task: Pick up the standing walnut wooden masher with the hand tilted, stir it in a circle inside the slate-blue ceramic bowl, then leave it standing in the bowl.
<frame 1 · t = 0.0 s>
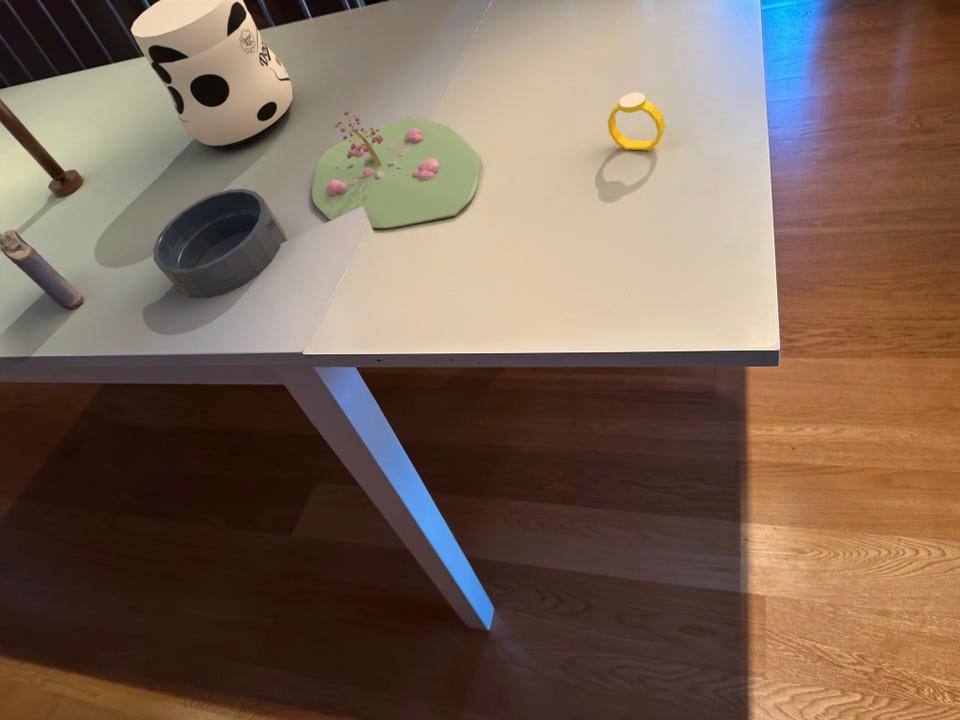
bowl: (236, 265, 81), on the table
masher: (69, 187, 107), on the table
plant: (401, 176, 84), on the table
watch: (638, 148, 75), on the table
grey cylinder: (66, 295, 88), on the table
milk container: (251, 124, 104), on the table
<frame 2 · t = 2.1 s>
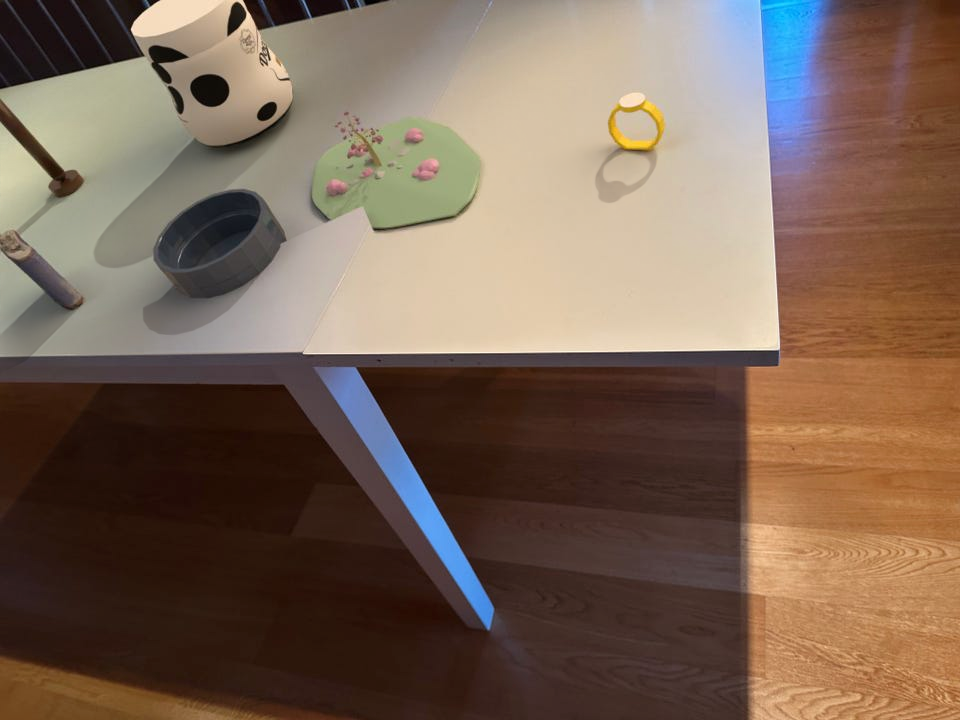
nothing on the table moved.
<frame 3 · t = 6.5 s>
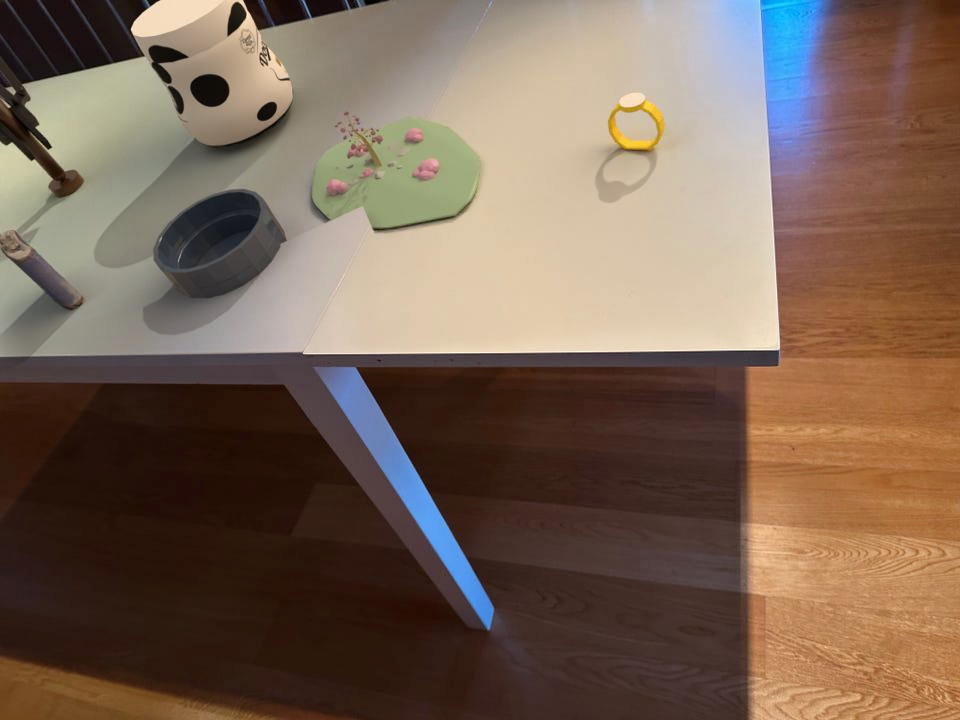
hand: (38, 150, 99), 8 cm above the table, tool tilted 45°, fingers closed on masher, 2 cm apart
masher: (69, 187, 107), on the table, touching gripper
everything else where it was.
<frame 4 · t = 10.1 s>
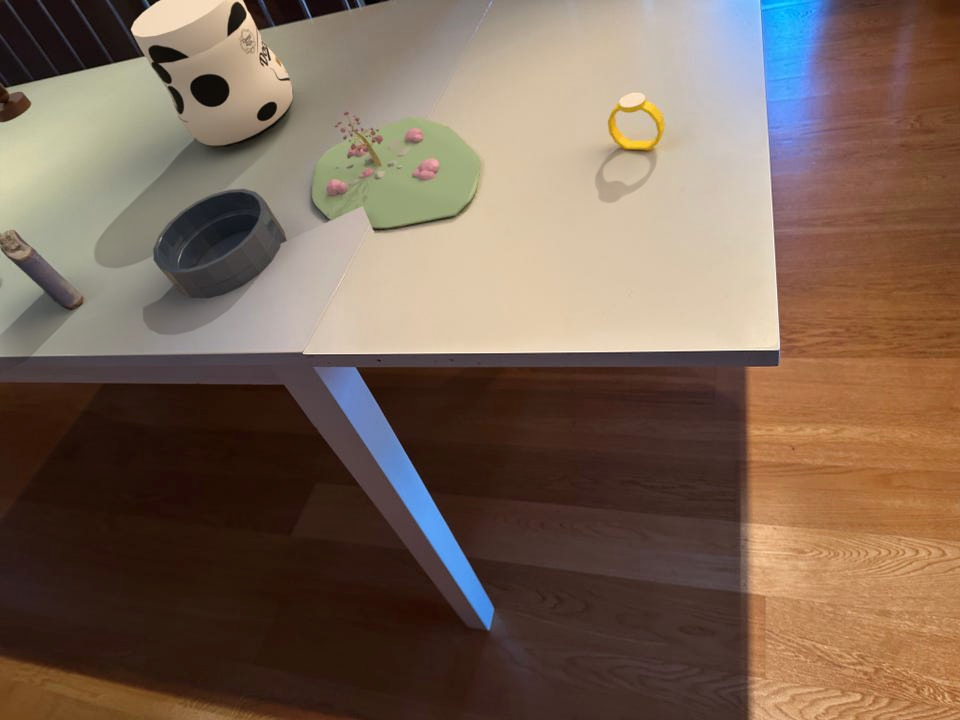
masher: (14, 111, 92), point 15 cm above the table, touching gripper
everything else where it was.
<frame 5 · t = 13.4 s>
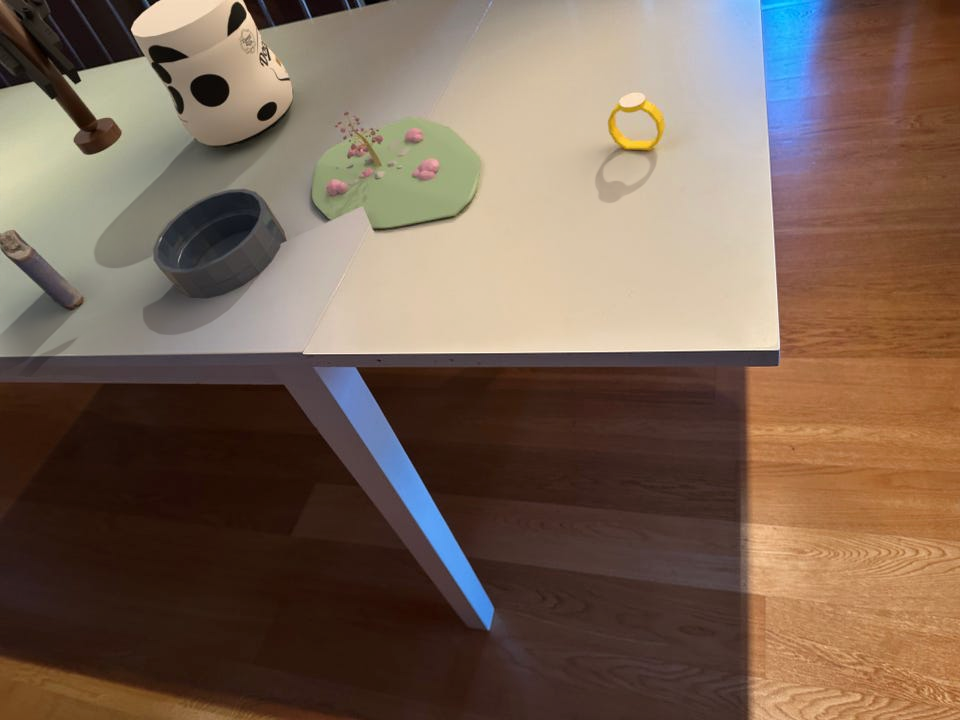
hand: (63, 83, 69), 23 cm above the table, tool tilted 45°, fingers closed on masher, 2 cm apart
masher: (102, 141, 78), point 15 cm above the table, touching gripper
everything else where it was.
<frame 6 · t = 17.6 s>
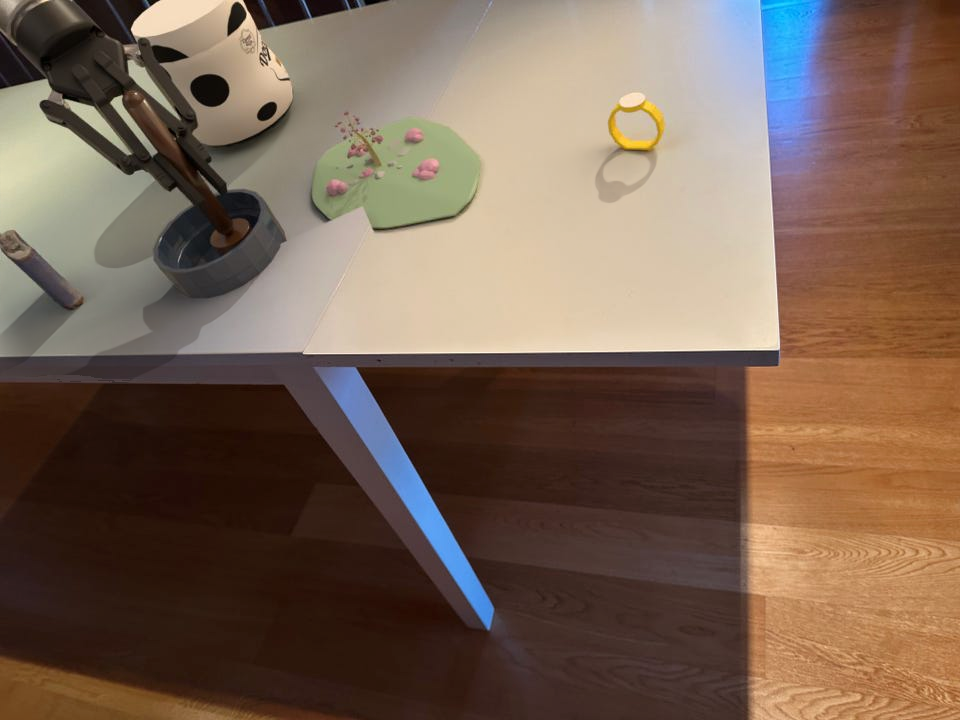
hand: (213, 197, 71), 11 cm above the table, tool tilted 45°, fingers closed on masher, 2 cm apart
masher: (236, 241, 80), point 3 cm above the table, touching gripper
everything else where it was.
when the fingers open (9 cm above the table, at t = 20.6 s): masher stays where it is, resting on bowl.
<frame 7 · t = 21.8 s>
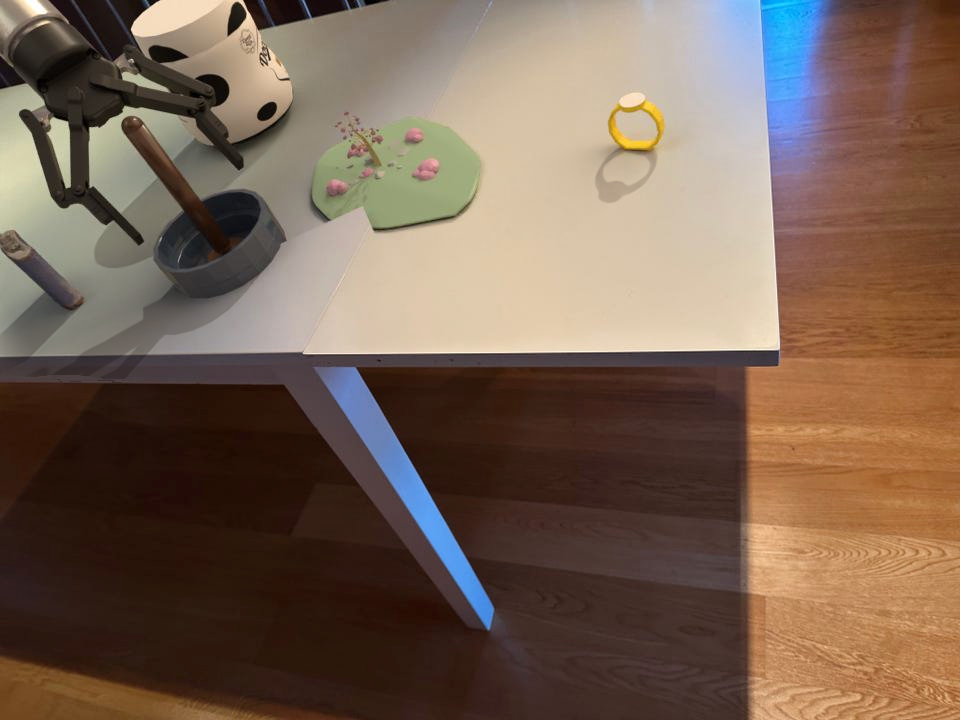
hand: (192, 201, 72), 11 cm above the table, tool tilted 45°, fingers open, 13 cm apart
masher: (233, 260, 81), point 1 cm above the table, touching bowl
everything else where it was.
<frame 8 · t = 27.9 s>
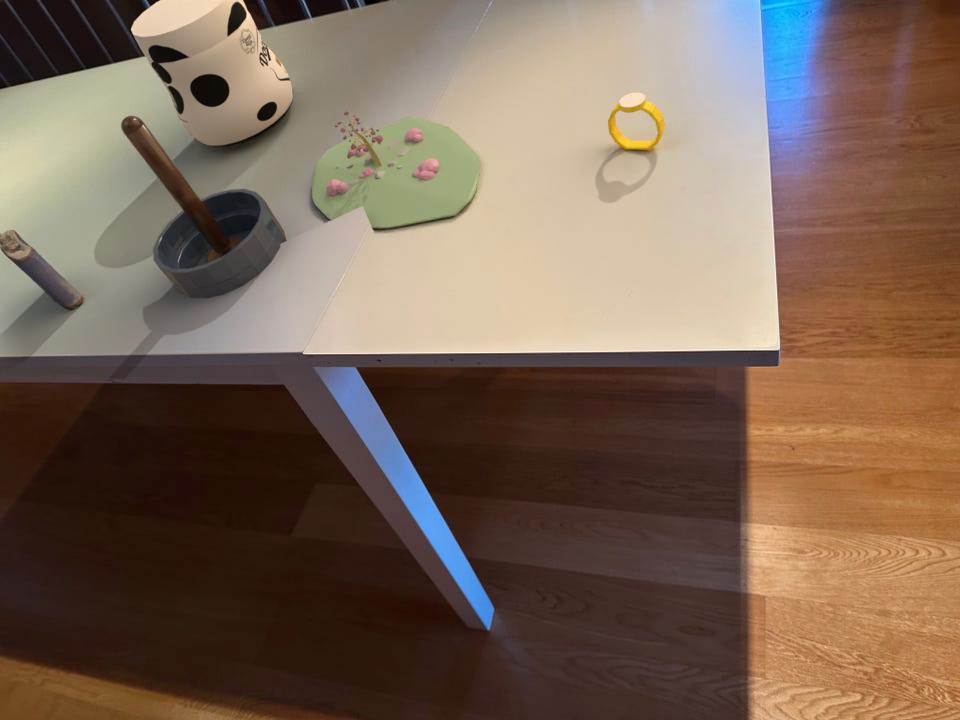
nothing on the table moved.
at the end: masher 0.1 cm off-centre in the bowl, point 0.8 cm above the bowl's base; masher tilted 0°; the gripper is holding nothing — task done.
